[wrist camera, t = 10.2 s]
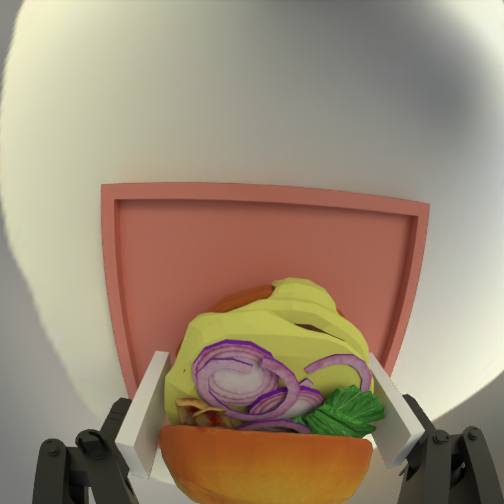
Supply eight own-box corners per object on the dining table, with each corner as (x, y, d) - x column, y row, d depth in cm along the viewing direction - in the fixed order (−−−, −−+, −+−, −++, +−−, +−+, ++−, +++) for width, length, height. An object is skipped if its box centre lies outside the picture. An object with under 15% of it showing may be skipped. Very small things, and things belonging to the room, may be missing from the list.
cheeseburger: (391, 294, 13) (471, 459, 4) (306, 402, 18) (317, 523, 9) (204, 235, 12) (116, 469, 3) (170, 373, 17) (136, 506, 8)
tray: (113, 184, 14) (101, 184, 12) (415, 201, 14) (429, 203, 13) (149, 433, 18) (145, 445, 17) (353, 433, 19) (358, 445, 18)
